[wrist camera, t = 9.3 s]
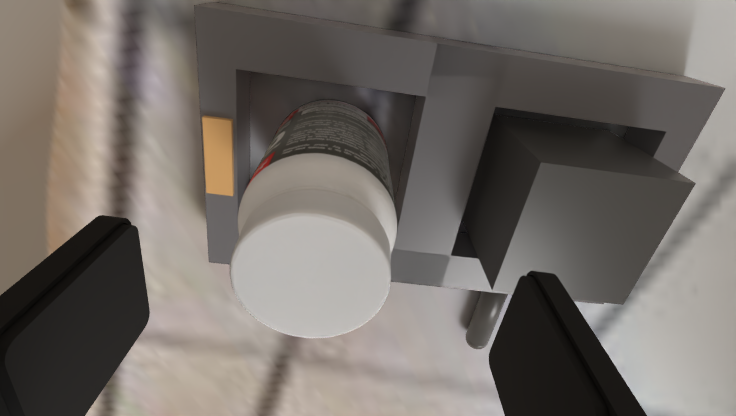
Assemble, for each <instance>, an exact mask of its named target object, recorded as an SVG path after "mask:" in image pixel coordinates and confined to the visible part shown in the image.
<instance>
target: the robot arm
mask: <svg viewBox="0 0 736 416" xmlns="http://www.w3.org/2000/svg"><path fill="white" fill-rule="evenodd" d="M149 314H150V311H149V303H148V296H147V289H146V283H145V276H144V269H143V262H142V255H141V248H140V241H139V234H138V229H137V227H136V226H133V225H131V222H130V221H129V220H128V219H126V218H119V217H112V216H104V215H102V216H98V217H96V218H95V219H94V220H93V221H91V222H90V223H89V224H88V225H86V226H85V227H84V228H83V229H81V230H80V231H79V232H78V233H77V234H75V235H74V236H73V237H72V238H70V239H69V240H68V241H67V242H66V243H64V244H63V245H62V246H61V247H59V248H58V249H57V250H56V251H54V252H53V253H52V254H51V255H50V256H48V257H47V258H46V259H45V260H44V261H42V262H41V263H40V264H39V265H37V266H36V267H35V268H34V269H32V270H31V271H30V272H29V273H27V274H26V275H25V276H24V277H23V278H21V279H20V280H19V281H18V282H16V283H15V284H14V285H13V286H12V287H10V288H9V289H8V290H7V291H6V292H4V293H3V294H2V295H1V296H0V416H85V415H86V413H87V412H88V410H89V409H90V407H91V406H92V404H93V403H94V401H95V400H96V399H97V397H98V396H99V394H100V393H101V391H102V390H103V388H104V387H105V385H106V384H107V382H108V381H109V379H110V378H111V377H112V375H113V374H114V372H115V371H116V369H117V368H118V366H119V365H120V363H121V362H122V360H123V359H124V357H125V356H126V354H127V353H128V352H129V350H130V349H131V347H132V346H133V344H134V343H135V341H136V340H137V338H138V337H139V335H140V334H141V332H142V331H143V330H144V328H145V326H146V325H147V322H148V319H149ZM489 365H490V369H491V372H492V375H493V378H494V381H495V385H496V388H497V391H498V394H499V398H500V401H501V404H502V407H503V411H504V414H505V416H647V415H646V414H645V412H644V410H643V409H642V407H641V406H640V404H639V403H638V401H637V400H636V398H635V396H634V395H633V393H632V392H631V390H630V389H629V387H628V386H627V384H626V382H625V381H624V379H623V378H622V376H621V375H620V373H619V372H618V370H617V368H616V367H615V365H614V364H613V362H612V361H611V359H610V358H609V356H608V354H607V353H606V351H605V350H604V348H603V347H602V345H601V344H600V342H599V340H598V339H597V337H596V336H595V334H594V333H593V331H592V330H591V328H590V326H589V325H588V323H587V322H586V320H585V319H584V317H583V316H582V314H581V312H580V311H579V309H578V308H577V306H576V305H575V303H574V302H573V300H572V298H571V297H570V295H569V294H568V292H567V291H566V289H565V288H564V286H563V284H562V283H561V281H560V280H559V278H558V277H557V276H556V275H555V274H553V273H546V272H538V271H529V272H528V273H527V275H526V276H524V275H523V276H521V277H520V278H519V280H518V283H517V285H516V288H515V290H514V293H513V295H512V298H511V300H510V303H509V305H508V308H507V310H506V313H505V315H504V317H503V320H502V322H501V325H500V327H499V330H498V332H497V335H496V337H495V340H494V342H493V345H492V347H491V350H490V353H489Z"/></svg>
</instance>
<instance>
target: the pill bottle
mask: <svg viewBox="0 0 736 416" xmlns="http://www.w3.org/2000/svg"><path fill="white" fill-rule="evenodd" d="M238 232H239V238H238V241H237V243H236V246H235V248H234V251H233V253H232V257H231V262H230V279H231V284H232V287H233V290H234V292H235V295H236V297H237V298H238V300H239V302H240V303H241V304H242V306H243V307H244V308H245V309H246V310H247V311H248V312H249V313H250V314H251V315H252V316H253V317H254V318H255V319H256V320H258V321H259V322H261V323H263V324H264V325H266V326H268V327H269V328H271V329H274V330H276V331H279V332H281V333H284V334H287V335H291V336H297V337H303V338H328V337H333V336H338V335H342V334H345V333H348V332H350V331H353V330H355V329H357V328H359V327H361V326H362V325H364V324H365V323H366V322H367V321H369V320H370V319H372V318H373V317H374V316H375V315H376V314H377V312H378V311H379V310H380V309H381V307H382V306H383V304H384V302H385V300H386V298H387V295H388V293H389V289H390V283H391V261H390V259H391V252H392V250H393V247H394V244H395V240H396V234H397V216H396V207H395V201H394V195H393V188H392V182H391V175H390V168H389V160H388V153H387V147H386V143H385V140H384V137H383V135H382V132H381V131H380V129H379V127H378V126H377V124H376V123H375V122H374V120H373V119H372V118H371V117H370V116H369V115H368V114H366V113H365V112H364V111H362V110H360V109H359V108H357V107H355V106H353V105H350V104H348V103H345V102H341V101H336V100H320V101H314V102H311V103H308V104H306V105H303V106H301V107H299V108H298V109H296V110H295V111H293V112H292V113H291V114H290V115H289V116H288V117H287V118H286V119H285V120H284V121H283V123H282V124H281V126H280V127H279V129H278V130H277V132H276V135H275V136H274V138H273V140H272V142H271V144H270V146H269V148H268V150H267V151H266V153H265V155H264V157H263V158H262V160H261V162H260V164H259V166H258V168H257V170H256V171H255V173H254V175H253V177H252V179H251V181H250V182H249V184H248V186H247V188H246V190H245V192H244V195H243V197H242V200H241V203H240V207H239V212H238Z"/></svg>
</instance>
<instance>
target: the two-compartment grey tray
mask: <svg viewBox="0 0 736 416" xmlns="http://www.w3.org/2000/svg"><path fill="white" fill-rule="evenodd" d="M194 10H195V27H196V45H197V62H198V80H199V98H200V115H201V133H202V151H203V168H204V186H205V203H206V221H207V239H208V256H209V262H211V263H221V264H230V262H231V257H232V253H233V251H234V248H235V246H236V243H237V241H238V238H239V232H238V212H239V207H240V203H241V200H242V197H243V195H244V192H245V190H246V188H247V186H248V184H249V182H250V71H253V72H259V73H266V74H273V75H280V76H287V77H294V78H301V79H308V80H315V81H321V82H328V83H335V84H342V85H349V86H356V87H363V88H370V89H377V90H383V91H390V92H397V93H404V94H411V95H417V96H416V101H415V106H414V111H413V116H412V121H411V126H410V131H409V136H408V141H407V145H406V150H405V155H404V160H403V165H402V170H401V175H400V180H399V185H398V190H397V195H396V200H395V207H396V216H397V234H396V240H395V244H394V247H393V250H392V252H391V259H390V261H391V282H400V283H409V284H419V285H428V286H437V287H447V288H456V289H466V290H475V291H481V294H480V297H479V300H478V302H477V305H476V308H475V310H474V313H473V316H472V319H471V321H470V324H469V327H468V330H467V332H466V341H467V343H468V344H469V346H471V347H472V348H474V349H482V348H484V347H485V346H486V345H487V343H488V341H489V339H490V336H491V334H492V331H493V329H494V327H495V324H496V322H497V319H498V317H499V314H500V312H501V309H502V307H503V305H504V302H505V300H506V297H507V295H508V294H513V293H514V290H515V288H516V285H517V283H518V280H519V278H520V277H521V276H523V275H524V276H526V275H527V273H528V272H529V271H538V272H546V273H553V274H555V275H556V276H557V277H558V278H559V280H560V281H561V283H562V284H563V286H564V288H565V289H566V291H567V292H568V294H569V295H570V297H571V298H572V300H573V301H579V302H588V303H598V304H604V303H613V304H622V305H623V304H624V302H625V301H626V299H627V297H628V296H629V294H630V292H631V291H632V289H633V287H634V286H635V284H636V282H637V281H638V279H639V277H640V276H641V274H642V272H643V271H644V269H645V267H646V266H647V264H648V262H649V260H650V259H651V257H652V255H653V254H654V252H655V250H656V249H657V247H658V245H659V244H660V242H661V240H662V239H663V237H664V235H665V234H666V232H667V230H668V229H669V227H670V225H671V224H672V222H673V220H674V219H675V217H676V215H677V214H678V212H679V210H680V209H681V207H682V205H683V204H684V202H685V200H686V199H687V197H688V195H689V194H690V192H691V190H692V189H693V187H694V185H695V184H696V183H694V182H693V181H691V180H690V179H688V178H686V177H685V176H683V175H681V174H680V173H678V171H679V169H680V168H681V166H682V164H683V162H684V161H685V159H686V157H687V155H688V154H689V152H690V150H691V148H692V147H693V145H694V143H695V141H696V139H697V138H698V136H699V134H700V132H701V131H702V129H703V127H704V125H705V124H706V122H707V120H708V118H709V117H710V115H711V113H712V111H713V109H714V108H715V106H716V104H717V102H718V101H719V99H720V97H721V95H722V94H723V92H724V90H725V88H723V87H719V86H716V85H712V84H709V83H706V82H702V81H699V80H696V79H692V78H689V77H686V76H680V75H673V74H667V73H661V72H654V71H648V70H642V69H635V68H629V67H623V66H616V65H610V64H604V63H597V62H591V61H585V60H578V59H572V58H566V57H559V56H553V55H547V54H540V53H534V52H527V51H521V50H515V49H508V48H502V47H496V46H489V45H483V44H477V43H470V42H464V41H458V40H451V39H445V38H439V37H432V36H426V35H420V34H413V33H407V32H401V31H394V30H388V29H382V28H375V27H369V26H363V25H356V24H350V23H344V22H337V21H331V20H325V19H318V18H312V17H306V16H299V15H293V14H287V13H280V12H274V11H268V10H261V9H255V8H249V7H242V6H236V5H230V4H223V3H217V2H212V3H205V4H199V5H194ZM495 107H501V108H507V109H514V110H521V111H528V112H535V113H542V114H549V115H556V116H563V117H569V118H576V119H583V120H590V121H597V122H604V123H611V124H618V125H625V126H630V127H629V129H628V131H627V133H626V135H625V137H624V139H622V138H621V137H619V136H617V135H616V134H614V133H612V132H611V131H608V130H601V129H594V128H587V127H580V126H573V125H566V124H559V123H552V122H545V121H538V120H531V119H524V118H517V117H510V116H503V115H496V114H494V115H493V113H494V110H495ZM492 117H493V118H492ZM491 120H492V121H491ZM490 123H491V124H490ZM489 126H490V128H489ZM488 130H489V131H488ZM487 133H488V134H487ZM486 136H487V138H486ZM485 140H486V141H485ZM484 143H485V144H484ZM483 146H484V148H483ZM482 150H483V151H482ZM481 153H482V154H481ZM480 156H481V158H480ZM479 160H480V161H479ZM478 163H479V164H478ZM477 166H478V168H477ZM476 170H477V171H476ZM475 173H476V174H475ZM474 176H475V178H474ZM473 180H474V181H473ZM472 183H473V184H472ZM471 186H472V187H471ZM470 190H471V191H470ZM469 193H470V194H469ZM468 196H469V197H468ZM467 200H468V201H467ZM466 203H467V204H466ZM465 206H466V207H465ZM464 210H465V211H464ZM463 213H464V214H463ZM462 216H463V217H462ZM461 220H463V222H464V225H465V227H466V230H467V232H468V233H459V232H458V229H459V226H460V223H461Z"/></svg>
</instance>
